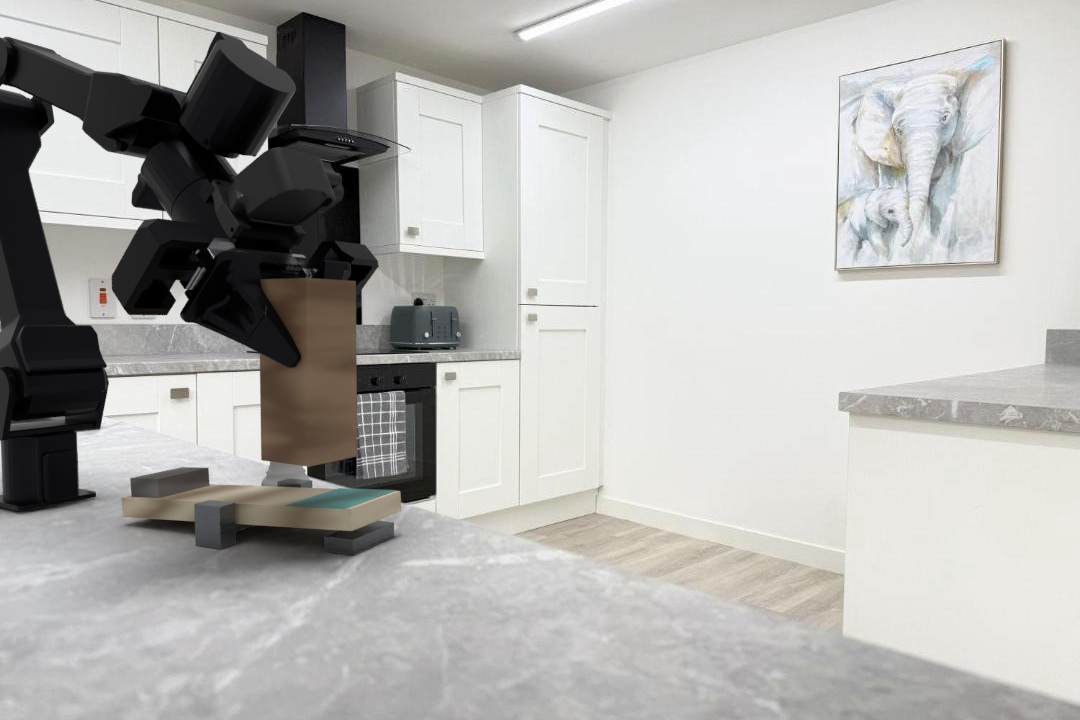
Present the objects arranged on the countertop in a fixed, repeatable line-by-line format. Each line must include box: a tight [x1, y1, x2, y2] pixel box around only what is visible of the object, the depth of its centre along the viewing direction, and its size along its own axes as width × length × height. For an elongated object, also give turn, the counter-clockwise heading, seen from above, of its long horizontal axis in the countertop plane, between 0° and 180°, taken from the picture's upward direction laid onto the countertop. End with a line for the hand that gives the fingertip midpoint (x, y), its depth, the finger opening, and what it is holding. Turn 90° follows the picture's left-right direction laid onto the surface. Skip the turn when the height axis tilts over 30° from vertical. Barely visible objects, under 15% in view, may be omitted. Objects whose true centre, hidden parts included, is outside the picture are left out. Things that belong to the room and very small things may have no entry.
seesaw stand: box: [194, 478, 395, 556], centre depth 57 cm, size 12×10×3 cm
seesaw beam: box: [121, 466, 402, 532], centre depth 59 cm, size 22×6×4 cm, turn 67°
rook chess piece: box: [260, 461, 311, 487], centre depth 69 cm, size 4×4×8 cm
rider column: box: [259, 278, 358, 468], centre depth 51 cm, size 4×4×12 cm
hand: (323, 361), depth 51 cm, fingers closed on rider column, 4 cm apart
